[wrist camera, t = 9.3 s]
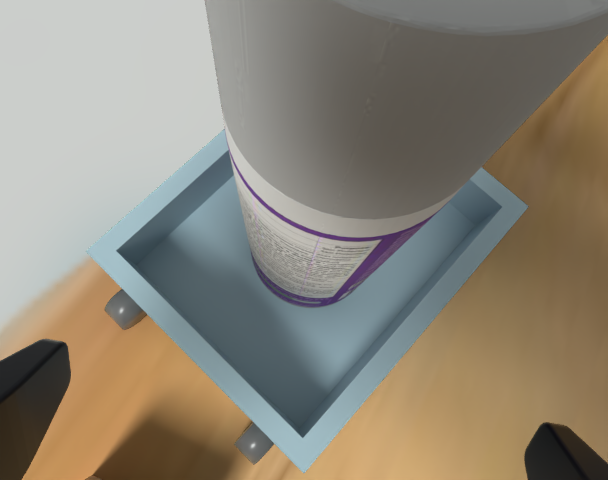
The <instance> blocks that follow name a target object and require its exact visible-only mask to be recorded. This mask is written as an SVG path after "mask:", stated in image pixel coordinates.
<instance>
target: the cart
mask: <svg viewBox="0 0 608 480" xmlns="http://www.w3.org/2000/svg"><path fill="white" fill-rule="evenodd" d="M528 207H529V206H528V205H526V204H525V203H524V202H523V201H522V200H520V199H519V198H518V197H517V196H516V195H514V194H513V193H512V192H511V191H510V190H508V189H507V188H506V187H505V186H504V185H502V184H501V183H500V182H499V181H498V180H496V179H495V178H494V177H493V176H492V175H490V174H489V173H488V172H487V171H486V170H484V169H483V168H482V167H481V168H480V169H479V170H478V171H477V172H476V173H475V174H474V175H473V176H472V177H471V178H470V179H469V180H468V181H467V182H466V184H465V185H464V186H463V187H462V188H461V189H460V190H459V191H458V192H457V193H456V194H455V195H454V196H453V198H452V199H451V200H450V201H449V202H448V203H447V204H446V205H445V206H444V207H443V208H442V209H441V210H440V211H439V212H438V213H436V214H435V215H434V216H433V217H432V218H431V219H430V220H429V221H428V222H427V223H426V224H425V225H424V226H423V227H421V228H420V229H419V230H418V231H417V232H416V233H415V234H414V235H413V236H412V237H411V238H410V239H409V240H408V241H407V242H405V243H404V244H403V245H402V246H401V247H400V248H399V249H398V250H397V251H396V252H395V253H394V254H393V255H392V256H390V257H389V258H388V259H387V260H386V261H385V262H384V263H383V264H382V265H381V266H380V267H379V268H378V269H377V270H375V271H374V272H373V273H372V274H371V275H370V276H369V277H368V278H367V279H366V280H365V281H364V282H363V283H362V284H361V285H359V286H358V287H357V288H356V289H355V290H354V291H353V292H352V293H351V294H349V295H348V296H347V297H345V298H344V299H342V300H341V301H339V302H337V303H335V304H332V305H329V306H325V307H320V308H304V307H298V306H294V305H291V304H289V303H287V302H284V301H283V300H281V299H279V298H278V297H276V296H275V295H274V294H272V293H271V292H270V291H269V290H268V289H267V288H266V287H265V285H264V284H263V283H262V281H261V280H260V278H259V276H258V274H257V272H256V269H255V267H254V264H253V260H252V255H251V251H250V246H249V242H248V237H247V232H246V228H245V223H244V219H243V214H242V209H241V205H240V200H239V195H238V191H237V186H236V182H235V177H234V172H233V168H232V163H231V159H230V154H229V149H228V145H227V140H226V134H225V129H224V130H223V131H222V132H220V133H219V134H218V135H217V136H216V137H215V138H214V139H212V141H210V142H209V143H208V144H207V145H206V146H204V147H203V148H202V149H201V150H200V151H199V152H198V153H197V154H195V155H194V156H193V157H192V158H191V159H190V160H189V161H188V162H186V163H185V164H184V165H183V166H182V167H181V168H179V169H178V170H177V171H176V172H175V173H174V174H173V175H172V176H170V177H169V178H168V179H167V180H166V181H165V182H164V183H162V184H161V185H160V186H159V187H158V188H157V189H156V190H155V191H154V192H152V193H151V194H150V195H149V196H148V197H147V198H145V199H144V200H143V201H142V202H141V203H140V204H139V205H137V206H136V207H135V208H134V209H133V210H132V211H131V212H130V213H128V214H127V215H126V216H125V217H124V218H123V219H122V220H120V221H119V222H118V223H117V224H116V225H115V226H114V227H112V228H111V229H110V230H109V231H108V232H107V233H106V234H105V235H103V236H102V237H101V238H100V239H99V240H98V241H97V242H95V243H94V244H93V245H92V246H91V247H90V248H89V249H88V250H87V251H86V252H87V253H88V254H89V255H90V256H91V257H92V258H93V259H94V260H95V261H96V262H97V263H98V264H99V265H100V266H101V267H102V268H103V270H104V271H105V272H106V273H107V274H108V275H109V276H110V277H111V278H112V279H113V280H114V281H115V282H116V283H117V284H118V285H119V286H120V287H121V288H122V290H120V291H119V292H118V293H116V294H115V295H114V296H113V297H112V298H111V299H110V301H109V302H108V303H107V305H106V307H105V311H106V312H107V313H108V315H109V316H110V317H111V318H112V319H113V320H114V321H115V322H116V323H117V324H118V325H119V326H120V327H121V328H122V329H123V330H126V329H129V328H131V327H132V326H134V325H135V324H137V323H138V322H139V321H141V320H142V319H143V318H144V317H145V316H146V315H147V314H148V315H149V316H150V317H151V318H152V319H153V320H154V321H155V322H156V323H157V324H158V326H159V327H160V328H161V329H162V330H163V331H164V332H165V333H166V334H167V335H168V336H169V337H170V338H171V339H172V340H173V341H174V342H175V343H176V344H177V345H178V346H179V347H180V348H181V349H182V350H183V351H184V352H185V353H186V354H187V355H188V356H189V357H190V358H191V359H192V360H193V361H194V362H195V363H196V364H197V365H198V366H199V367H200V368H201V369H202V370H203V371H204V372H205V373H206V374H207V375H208V376H209V377H210V378H211V379H212V380H213V382H214V383H215V384H216V385H217V386H218V387H219V388H220V389H221V390H222V391H223V392H224V393H225V394H226V395H227V396H228V397H229V398H230V399H231V400H232V401H233V402H234V403H235V404H236V405H237V406H238V407H239V408H240V409H241V410H242V411H243V412H244V413H245V414H246V415H247V416H248V417H249V418H250V419H251V420H252V421H253V422H252V423H251V424H250V426H249V427H248V428H247V429H246V430H245V431H244V432H243V433H242V435H241V436H240V437H239V438H238V439H237V441H236V442H235V443H234V445H235V446H236V447H237V448H238V449H239V450H240V451H241V452H242V453H243V454H244V455H245V456H246V457H247V459H248V460H249V461H250V462H251V463H252V464H253V465H254V464H256V463H257V462H258V461H259V460H260V459H261V458H262V457H263V456H264V455H265V454H266V453H267V452H268V450H269V449H270V448H271V447H272V446H273V444H275V445H276V446H277V447H278V448H279V449H280V450H281V451H282V452H283V453H284V454H285V455H286V456H287V457H288V458H289V459H290V460H291V461H292V462H293V463H294V464H295V465H296V466H297V467H298V468H299V469H300V470H301V471H302V472H303V473H305V472H306V470H307V469H308V468H309V467H310V466H311V465H312V463H313V462H314V461H315V460H316V459H317V457H318V456H319V455H320V454H321V453H322V451H323V450H324V449H325V448H326V447H327V446H328V444H329V443H330V442H331V441H332V440H333V438H334V437H335V436H336V435H337V434H338V432H339V431H340V430H341V429H342V428H343V427H344V425H345V424H346V423H347V422H348V421H349V419H350V418H351V417H352V416H353V415H354V414H355V412H356V411H357V410H358V409H359V408H360V406H361V405H362V404H363V403H364V402H365V400H366V399H367V398H368V397H369V396H370V395H371V393H372V392H373V391H374V390H375V389H376V387H377V386H378V385H379V384H380V383H381V381H382V380H383V379H384V378H385V377H386V376H387V374H388V373H389V372H390V371H391V370H392V368H393V367H394V366H395V365H396V364H397V362H398V361H399V360H400V359H401V358H402V357H403V355H404V354H405V353H406V352H407V351H408V349H409V348H410V347H411V346H412V345H413V343H414V342H415V341H416V340H417V339H418V338H419V336H420V335H421V334H422V333H423V332H424V330H425V329H426V328H427V327H428V326H429V324H430V323H431V322H432V321H433V320H434V319H435V317H436V316H437V315H438V314H439V313H440V311H441V310H442V309H443V308H444V307H445V305H446V304H447V303H448V302H449V301H450V300H451V298H452V297H453V296H454V295H455V294H456V292H457V291H458V290H459V289H460V288H461V286H462V285H463V284H464V283H465V282H466V281H467V279H468V278H469V277H470V276H471V275H472V273H473V272H474V271H475V270H476V269H477V267H478V266H479V265H480V264H481V263H482V262H483V260H484V259H485V258H486V257H487V256H488V254H489V253H490V252H491V251H492V250H493V248H494V247H495V246H496V245H497V244H498V243H499V241H500V240H501V239H502V238H503V237H504V235H505V234H506V233H507V232H508V231H509V229H510V228H511V227H512V226H513V225H514V224H515V222H516V221H517V220H518V219H519V218H520V216H521V215H522V214H523V213H524V212H525V210H526V209H527V208H528Z"/></svg>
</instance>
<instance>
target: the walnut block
mask: <svg viewBox="0 0 608 480" xmlns="http://www.w3.org/2000/svg"><path fill="white" fill-rule="evenodd" d="M85 480H102V479H100V478H98V477H96V476H94V475H92V476H90V477H88V478H87V479H85Z"/></svg>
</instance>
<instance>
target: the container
mask: <svg viewBox="0 0 608 480" xmlns="http://www.w3.org/2000/svg"><path fill="white" fill-rule="evenodd" d="M205 5H206V12H207V18H208V24H209V31H210V37H211V43H212V50H213V56H214V62H215V69H216V75H217V81H218V87H219V94H220V100H221V107H222V113H223V120H224V128H225V134H226V140H227V145H228V149H229V154H230V159H231V163H232V168H233V172H234V177H235V182H236V186H237V191H238V195H239V200H240V205H241V209H242V214H243V219H244V223H245V228H246V232H247V237H248V242H249V246H250V251H251V255H252V260H253V264H254V267H255V269H256V272H257V274H258V276H259V278H260V280H261V281H262V283H263V284H264V285H265V287H266V288H267V289H268V290H269V291H270V292H271V293H272V294H274V295H275V296H276V297H278V298H279V299H281V300H283V301H284V302H287V303H289V304H291V305H294V306H298V307H304V308H320V307H325V306H329V305H332V304H335V303H337V302H339V301H341V300H342V299H344V298H345V297H347V296H348V295H349V294H351V293H352V292H353V291H354V290H355V289H356V288H357V287H358V286H359V285H361V284H362V283H363V282H364V281H365V280H366V279H367V278H368V277H369V276H370V275H371V274H372V273H373V272H374V271H375V270H377V269H378V268H379V267H380V266H381V265H382V264H383V263H384V262H385V261H386V260H387V259H388V258H389V257H390V256H392V255H393V254H394V253H395V252H396V251H397V250H398V249H399V248H400V247H401V246H402V245H403V244H404V243H405V242H407V241H408V240H409V239H410V238H411V237H412V236H413V235H414V234H415V233H416V232H417V231H418V230H419V229H420V228H421V227H423V226H424V225H425V224H426V223H427V222H428V221H429V220H430V219H431V218H432V217H433V216H434V215H435V214H436V213H438V212H439V211H440V210H441V209H442V208H443V207H444V206H445V205H446V204H447V203H448V202H449V201H450V200H451V199H452V198H453V196H454V195H455V194H456V193H457V192H458V191H459V190H460V189H461V188H462V187H463V186H464V185H465V184H466V182H467V181H468V180H469V179H470V178H471V177H472V176H473V175H474V174H475V173H476V172H477V171H478V170H479V169H480V168H481V167H482V166H483V165H484V164H485V163H486V162H487V161H488V160H489V158H490V157H491V156H492V155H493V154H494V153H495V152H496V151H497V150H498V149H499V148H500V147H501V146H502V145H503V144H504V143H505V142H506V141H507V140H508V139H509V138H510V137H511V135H512V134H513V133H514V132H515V131H516V130H517V129H518V128H519V127H520V126H521V125H522V124H523V123H524V122H525V121H526V120H527V119H528V118H529V117H530V116H531V115H532V113H533V112H534V111H535V110H536V109H537V108H538V107H539V106H540V105H541V104H542V103H543V102H544V101H545V100H546V99H547V98H548V97H549V96H550V95H551V94H552V93H553V91H554V90H555V89H556V88H557V87H558V86H559V85H560V84H561V83H562V82H563V81H564V80H565V79H566V78H567V77H568V76H569V75H570V74H571V73H572V72H573V71H574V70H575V68H576V67H577V66H578V65H579V64H580V63H581V62H582V61H583V60H584V59H585V58H586V57H587V56H588V55H589V54H590V53H591V52H592V51H593V50H594V49H595V48H596V46H597V45H598V44H599V43H600V42H601V41H602V40H603V39H604V38H605V37H606V36H607V35H608V0H205Z"/></svg>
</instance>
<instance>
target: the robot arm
mask: <svg viewBox="0 0 608 480" xmlns="http://www.w3.org/2000/svg"><path fill="white" fill-rule="evenodd" d="M70 379H71V370H70V361H69V352H68V346H67V344H66V343H65V342H62V341H56V340H50V339H42V340H39V341H37V342H35V343H33V344H31V345H29V346H28V347H26V348H24V349H22V350H20V351H18V352H16V353H14V354H12V355H11V356H9V357H7V358H5V359H3V360H1V361H0V480H22V478H23V476H24V474H25V473H26V471H27V469H28V468H29V466H30V464H31V462H32V460H33V458H34V456H35V454H36V452H37V450H38V448H39V446H40V444H41V442H42V440H43V438H44V436H45V434H46V432H47V430H48V428H49V425H50V423H51V421H52V419H53V417H54V415H55V413H56V411H57V409H58V407H59V405H60V403H61V401H62V399H63V396H64V394H65V392H66V390H67V388H68V386H69V383H70ZM524 461H525V467H526V473H527V478H528V480H608V463H607V462H605V461H604V460H603V459H602V458H601V457H600V456H599V455H598V454H597V453H596V452H595V451H594V450H593V449H591V448H590V447H589V446H588V445H587V444H586V443H585V442H584V441H583V440H582V439H581V438H580V437H578V436H577V435H576V434H575V433H574V432H573V431H572V430H571V429H570V428H568V427H567V426H564V425H560V424H554V423H548V422H545V423H543V424H541V425H540V426H539V428H538V430H537V431H536V433H535V435H534V436H533V438H532V440H531V441H530V443H529V445H528V446H527V448H526V451H525V456H524Z"/></svg>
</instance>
